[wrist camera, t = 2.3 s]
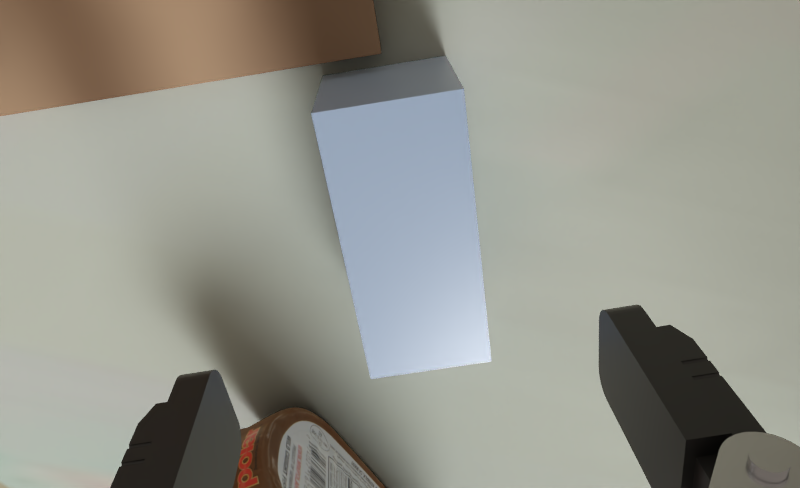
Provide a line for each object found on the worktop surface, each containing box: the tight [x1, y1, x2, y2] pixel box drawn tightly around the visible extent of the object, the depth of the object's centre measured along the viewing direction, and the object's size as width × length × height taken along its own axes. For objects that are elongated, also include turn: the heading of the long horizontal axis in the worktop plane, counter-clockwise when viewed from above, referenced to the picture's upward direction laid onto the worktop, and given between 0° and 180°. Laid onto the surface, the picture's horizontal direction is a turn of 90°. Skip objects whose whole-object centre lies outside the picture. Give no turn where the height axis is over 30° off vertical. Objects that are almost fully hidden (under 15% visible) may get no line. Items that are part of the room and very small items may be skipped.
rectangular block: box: [311, 56, 491, 379], centre depth 20 cm, size 4×9×4 cm, turn 8°
